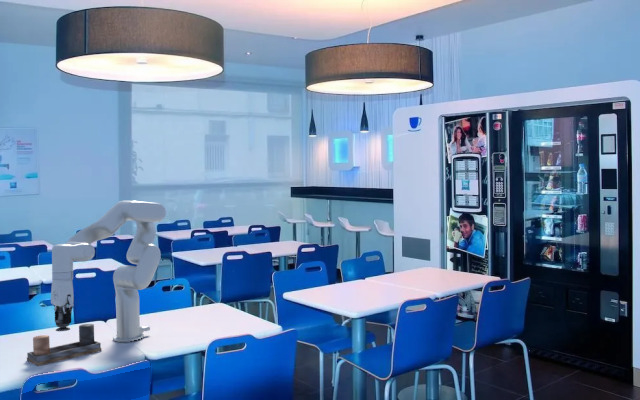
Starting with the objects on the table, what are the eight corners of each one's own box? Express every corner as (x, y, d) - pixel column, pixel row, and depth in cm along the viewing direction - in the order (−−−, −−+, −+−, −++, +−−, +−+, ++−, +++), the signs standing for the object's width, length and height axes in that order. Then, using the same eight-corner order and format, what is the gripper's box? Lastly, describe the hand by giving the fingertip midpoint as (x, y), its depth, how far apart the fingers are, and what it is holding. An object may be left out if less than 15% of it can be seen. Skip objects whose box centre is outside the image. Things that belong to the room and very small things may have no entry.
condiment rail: (89, 346, 249) (88, 322, 249) (101, 351, 243) (100, 325, 242) (26, 360, 231) (26, 334, 230) (38, 366, 224) (37, 338, 224)
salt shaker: (71, 330, 235) (71, 299, 234) (55, 332, 232) (55, 300, 232) (70, 327, 240) (70, 297, 240) (54, 328, 237) (53, 298, 237)
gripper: (43, 274, 238) (43, 320, 239) (63, 279, 227) (63, 327, 227) (62, 272, 244) (62, 317, 244) (82, 277, 232) (83, 324, 233)
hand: (63, 321), depth 236 cm, fingers closed on salt shaker, 5 cm apart
